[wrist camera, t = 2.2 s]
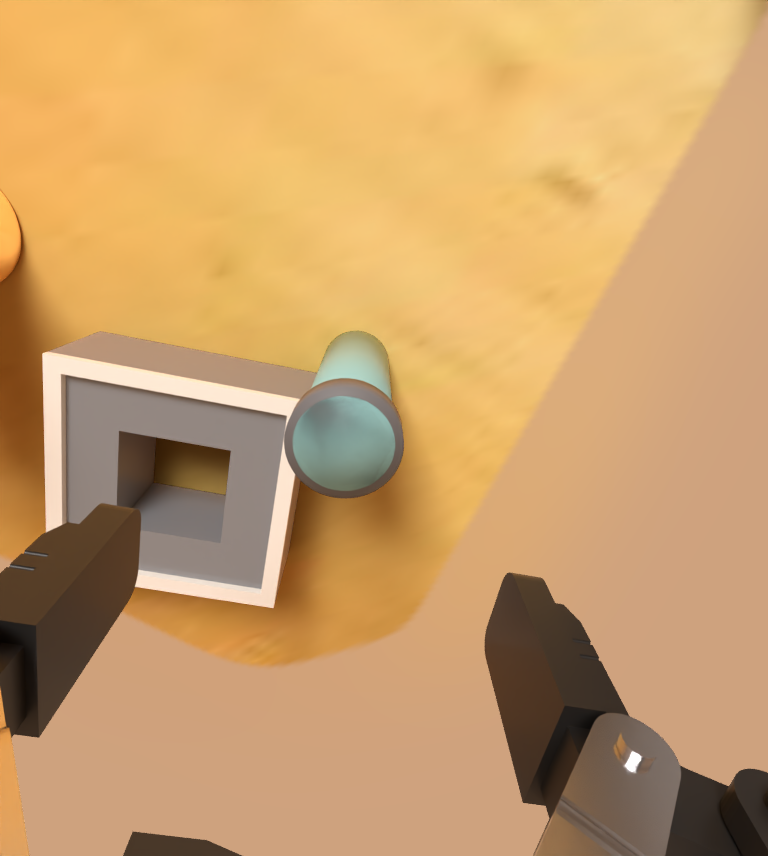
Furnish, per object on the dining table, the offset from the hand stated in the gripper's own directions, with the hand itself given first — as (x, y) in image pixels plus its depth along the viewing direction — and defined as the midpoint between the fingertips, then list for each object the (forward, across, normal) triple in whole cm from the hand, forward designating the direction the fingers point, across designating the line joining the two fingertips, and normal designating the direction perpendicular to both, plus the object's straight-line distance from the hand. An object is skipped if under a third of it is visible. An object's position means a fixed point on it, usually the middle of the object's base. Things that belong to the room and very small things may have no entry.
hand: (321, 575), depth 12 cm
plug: (+20, 0, 0) cm, 20 cm away
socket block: (+20, +8, +7) cm, 22 cm away
